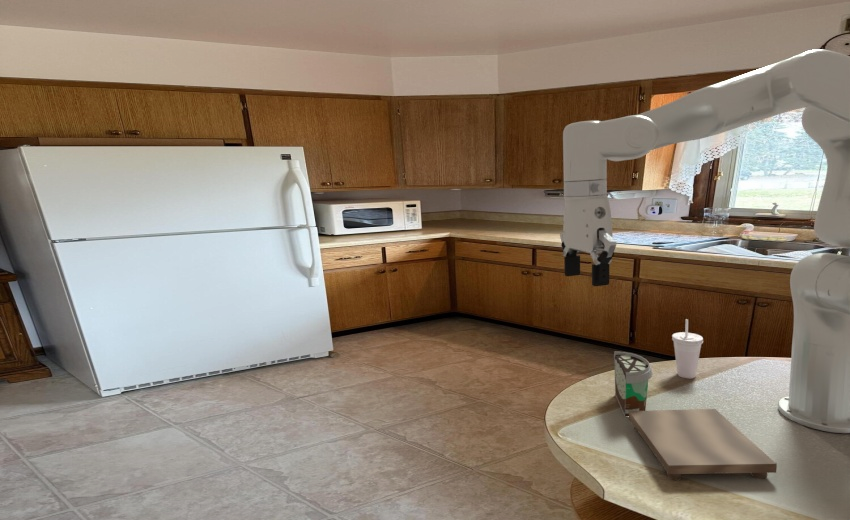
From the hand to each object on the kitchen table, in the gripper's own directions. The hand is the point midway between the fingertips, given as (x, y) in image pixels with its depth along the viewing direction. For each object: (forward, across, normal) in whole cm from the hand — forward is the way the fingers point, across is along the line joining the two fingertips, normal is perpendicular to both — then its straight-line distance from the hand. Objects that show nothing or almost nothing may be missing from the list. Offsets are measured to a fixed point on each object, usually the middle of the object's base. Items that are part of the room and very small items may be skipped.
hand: (585, 280), depth 86 cm
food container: (+29, +2, -12) cm, 32 cm away
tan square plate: (+29, -15, -12) cm, 35 cm away
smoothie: (+29, +10, -33) cm, 45 cm away
